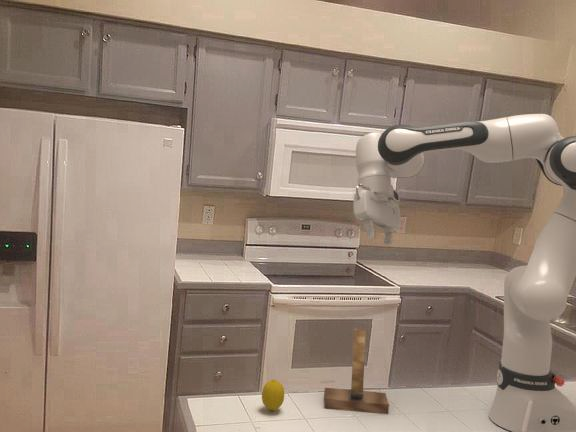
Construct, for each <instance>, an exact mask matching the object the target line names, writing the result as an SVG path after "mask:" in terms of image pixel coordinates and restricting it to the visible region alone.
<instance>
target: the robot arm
mask: <svg viewBox="0 0 576 432" xmlns="http://www.w3.org/2000/svg"><path fill="white" fill-rule="evenodd" d="M448 150H449V151H450V150H459V151H460V150H461V151H464V152H467V153H469V154H470V155H473V156H474V157H475V158H476V159H478V160H479V161H481V162H484V163H488V164H489V163H494V164H495V163H496V164H497V163H498V164H499V163H505V162H512V161H517V160H518V161H519V160H522V159H523V160H525V159H535V161H536V162H537V164H538V166H539V168H540V169H541V172H542V174H543V175H544V177H545V178H546V179H547V180H548V181H549V182H550V183H552V184H554V185H556V186H561V188H562V196H561V198H560V201H559V203H558V204H557V205H556V206H555V208H554V210H553V212H552V213H551V215H550V216H549V218H548V220H547V221H546V223H545V224H544V226H543V228H542V230H541V232H540V233H539V235H538V236H537V238H536V240H535V244H534V248H533V250H532V253H531V256H530V257H529V260H528V263H527V265H520V266H519V265H518V266H516V267H514V268H512V269H510V270H509V272H507V274H506V275H505V278H504V283H503V285H504V286H503V287H504V289H503V291H504V292H503V340H502V349H501V358H500V359H501V360H500V361H499V363H498V370H497V375H496V385H497V386H496V387H497V388H496V391H495V396H494V400H493V402H492V404H491V405H492V406H491V408H490V410H489V412H488V418H489V419H490V420H491V422H493V423H494V424H496V425H498V426H499V427H500V428H503V429H505V430H507V431H510V432H576V406H575V404H574V403H573V402H572V401H571V399H569V398H568V397H567V396H566V395H565V394H563V393H562V392H561V390H559V389H558V388H557V387H556V385H557V386H558V387H563V386H564V385H565V384H566V383H565V382H566V381H565V380H564V379H563V378H562V377H561V376H560V375H556V374H555V373H554V372H552V371H551V370H550V369H551V359H552V358H551V357H552V350H553V348H552V347H553V336H552V329H551V327H552V326H551V321H553V320H556V319H557V318H559V317H560V316H561V315H563V313H564V311H565V309H566V307H567V303H568V301H567V300H568V296H569V293H570V291H571V289H572V287H573V284H574V281H575V278H576V135H571V136H567V137H564V136H562V135H561V134H560V132H559V126H558V124H557V122H556V121H555V119H554V118H553V116H551V115H549V114H546V113H528V114H527V113H526V114H518V115H511V116H505V117H500V118H495V119H488V120H479V121H474V120H473V121H460V122H452V123H443V124H436V125H426V126H425V125H424V126H413V125H407V124H395V125H394V124H393V125H391V126H390V127H388V128H386V129H385V130H384V131H383V132H382V133H381V132H377V131H376V132H375V131H374V132H369V133H366V134H365V135H363V136H362V137H360V138H359V139H358V141H357V142H356V147H355V165H356V171H357V173H358V178H357V185H356V187H355V193H354V194H353V215H354V217H355V219H356V220H358V221H359V220H360V221H361V222H362V224H363V227H364V230H365V231H366V238H367V239H370V240H375V239H376V238H377V235H376V234H377V233H376V231H375V229H374V227H376V228H379V229H381V230H383V233H384V238H383V244H384V245H386V246H391V245H393V236H394V232H396V231H399V230H400V228H401V212H400V206H399V204H398V203H400V199H401V198H400V196H399V194H398V193H397V191H396V190H395V188H394V186H393V184H392V179H406V178H413V177H415V176H417V175H418V174H420V172H421V171H422V170H423V168H424V165H425V162H426V161H425V155H424V153H433V152H440V151H441V152H442V151H448ZM391 178H392V179H391Z"/></svg>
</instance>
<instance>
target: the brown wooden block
mask: <svg viewBox="0 0 576 432" xmlns="http://www.w3.org/2000/svg"><path fill="white" fill-rule="evenodd" d="M323 400H324V401H323V403H324V409H328V410H338V411H339V410H340V411H341V410H342V411H350V412H361V413H372V414H374V413H375V414H383V415H388V414H389V408H390V404H389V400H388V397H387V394H386V392H379V391H367V390H363V398H359V397H351V389H343V388H334V387H331V388H330V387H324V395H323Z"/></svg>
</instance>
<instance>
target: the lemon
mask: <svg viewBox="0 0 576 432" xmlns="http://www.w3.org/2000/svg"><path fill="white" fill-rule="evenodd" d="M284 389H285V388H284V386H283V384H282V383H281V382H280V381H279V380H277V379H274V378H273V379H271V380H269V381H267V382H265V384H264V385H263V388H262V391H261V401H262V404H263V406H264V407H265V408H267V409H268V410H270V411H271V412H273V411H276V410H278V409H280V407H281V406H282V405H283V403H284V401H285V390H284Z"/></svg>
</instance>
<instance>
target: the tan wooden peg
mask: <svg viewBox="0 0 576 432" xmlns="http://www.w3.org/2000/svg"><path fill="white" fill-rule="evenodd" d="M366 332H367V331H366V329H365V328H354V329H353V342H352V343H353V344H352V346H353V348H352V362H351V363H352V367H351V385H350V386H351V387H350V390H351V397H359V398H363V391H364V379H365V354H366Z"/></svg>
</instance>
